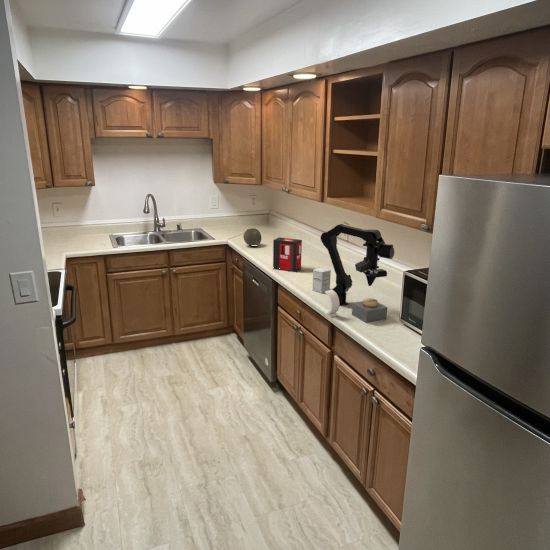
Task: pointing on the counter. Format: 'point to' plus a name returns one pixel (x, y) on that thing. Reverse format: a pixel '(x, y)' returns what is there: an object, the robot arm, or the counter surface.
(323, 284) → the supplement box
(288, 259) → the cleaning product box
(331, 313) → the headphone stand
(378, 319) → the gray rectangular block
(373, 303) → the tan rounded lump
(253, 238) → the spherical smart speaker
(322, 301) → the counter surface
